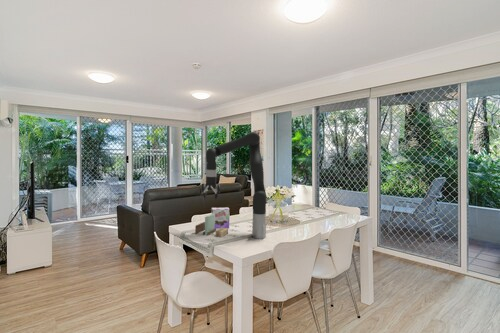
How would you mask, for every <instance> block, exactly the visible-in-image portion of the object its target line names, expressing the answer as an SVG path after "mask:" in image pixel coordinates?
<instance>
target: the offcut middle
mask: <svg viewBox="0 0 500 333" xmlns="http://www.w3.org/2000/svg"><path fill="white" fill-rule="evenodd" d="M228 234H229V230H228V231H227V232H225V233H224V234H216V233H215V237H218V238H223V237H225V236H226V235H228Z"/></svg>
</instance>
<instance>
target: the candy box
mask: <svg viewBox="0 0 500 333" xmlns="http://www.w3.org/2000/svg"><path fill="white" fill-rule="evenodd" d="M230 212H231V211H230V208H229V207H211V214H215V228H214V229H216V230H218V229H220V228H228V229H230Z"/></svg>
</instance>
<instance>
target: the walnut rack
mask: <svg viewBox="0 0 500 333" xmlns="http://www.w3.org/2000/svg"><path fill="white" fill-rule="evenodd" d="M194 227H195V232H194V233H195V235H198V234H199V233H202V235H203V236H211V235H212V234H214V233H216V231H217V229H214V230H212V231H210V232H208V233H207V235H205V221H203V222H200V223H198V224H196V225H195V226H194Z"/></svg>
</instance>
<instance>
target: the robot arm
mask: <svg viewBox="0 0 500 333" xmlns="http://www.w3.org/2000/svg"><path fill="white" fill-rule="evenodd" d="M260 142H261V137H260V134H259V133H258V132H257V131H250V132H248V133H247V134H246V135H244V136H241V137H239V138H237V139H233V140H231V141H227V142H224V143H222V144H220V145H218V146H215V147H210V148H207V150H206V152H205V160H206V168H205V169H206V170H205V183H202V184H201V187H200V188H201V192H202V193H203V199H206V198H207V197H208V195H207V194H208V191H213V192H214V199H215V200H217V199H218V197H219V194H220V193H221V184H217V176H218V175H217V174H218V173H217V162H216V158H218V157H220V156H222V155H226V154H228V153H230V152H233V151H236V150H237V149H240V148H242V147H246V146H248V148H249V168H250V169H249V171H250V175H251V179H252V183H253V196H252V226H251V227H252V229H251V230H252V232H251V237H252V238H253V239H256V240H257V239H258V240H259V239H260V240H261V239H262V240H263V239H265V238H266V237H267V235H266V234H267V223H266V218H267V217H266V215H267V210H266V208H267V193H266V189H265V188H266V187H265V180H264V179H265V178H264V176H265V175H264V174H265V173H264V164H263V157H262V154H261V151H260V150H261V147H260V146H261V143H260Z"/></svg>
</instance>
